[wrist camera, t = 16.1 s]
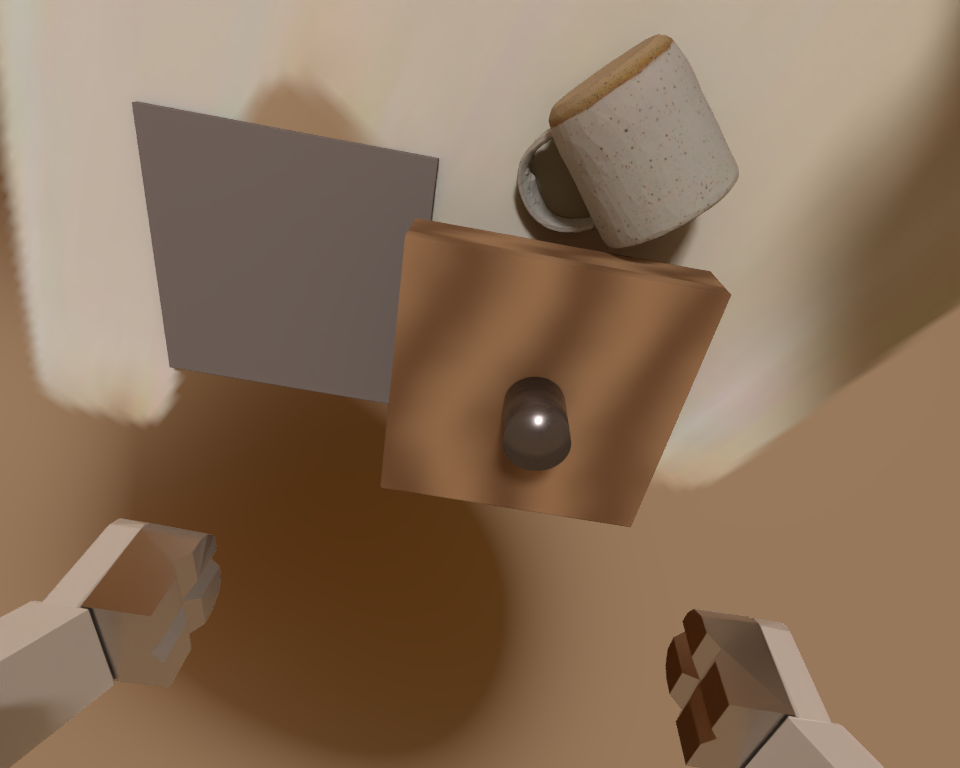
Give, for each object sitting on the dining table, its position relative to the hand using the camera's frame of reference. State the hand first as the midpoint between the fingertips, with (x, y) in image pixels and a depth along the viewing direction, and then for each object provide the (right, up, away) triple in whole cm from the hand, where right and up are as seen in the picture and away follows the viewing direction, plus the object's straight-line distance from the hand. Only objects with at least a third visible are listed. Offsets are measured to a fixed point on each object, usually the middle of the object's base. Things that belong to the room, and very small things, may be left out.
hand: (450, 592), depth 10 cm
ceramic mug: (+8, +17, +24) cm, 30 cm away
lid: (+4, +4, +26) cm, 27 cm away
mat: (-12, +11, +28) cm, 33 cm away
